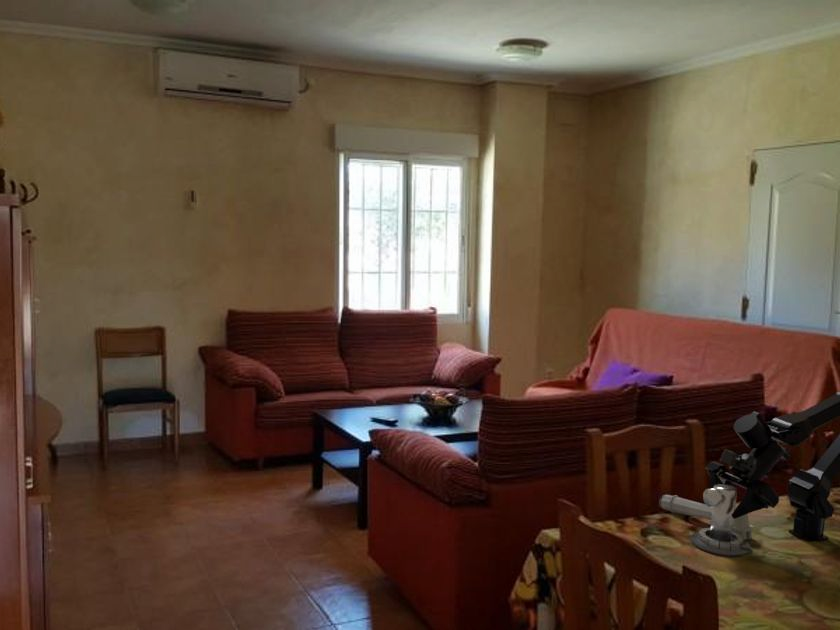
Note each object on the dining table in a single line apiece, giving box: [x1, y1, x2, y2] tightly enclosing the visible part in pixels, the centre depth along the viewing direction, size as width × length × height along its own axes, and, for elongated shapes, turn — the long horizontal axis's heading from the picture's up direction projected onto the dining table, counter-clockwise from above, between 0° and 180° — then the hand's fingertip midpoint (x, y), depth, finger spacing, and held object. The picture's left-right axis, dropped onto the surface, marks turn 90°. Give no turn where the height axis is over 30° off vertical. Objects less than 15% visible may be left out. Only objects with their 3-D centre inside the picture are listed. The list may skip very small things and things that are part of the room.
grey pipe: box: [658, 494, 754, 541], centre depth 197 cm, size 5×7×25 cm
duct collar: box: [690, 527, 751, 558], centre depth 183 cm, size 13×13×2 cm
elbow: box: [702, 484, 738, 542], centre depth 182 cm, size 7×5×13 cm
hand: (718, 510), depth 182 cm, fingers open, 9 cm apart
